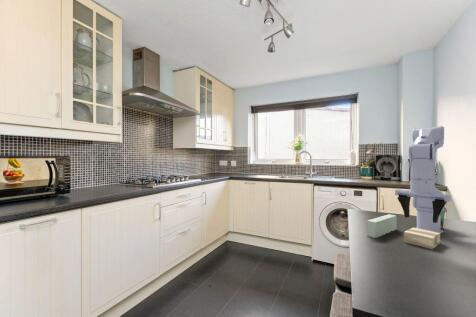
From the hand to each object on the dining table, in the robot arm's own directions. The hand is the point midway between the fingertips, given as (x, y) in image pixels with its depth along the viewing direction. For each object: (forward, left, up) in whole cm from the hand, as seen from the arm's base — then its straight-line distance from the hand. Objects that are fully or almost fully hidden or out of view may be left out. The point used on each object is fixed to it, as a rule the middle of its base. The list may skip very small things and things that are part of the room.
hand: (420, 219), depth 75 cm
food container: (-38, -5, -10) cm, 39 cm away
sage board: (-8, -15, -10) cm, 19 cm away
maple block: (-8, -2, -10) cm, 13 cm away
